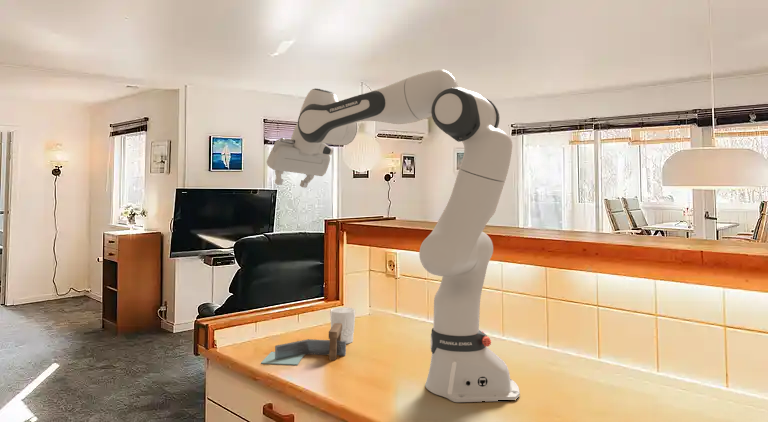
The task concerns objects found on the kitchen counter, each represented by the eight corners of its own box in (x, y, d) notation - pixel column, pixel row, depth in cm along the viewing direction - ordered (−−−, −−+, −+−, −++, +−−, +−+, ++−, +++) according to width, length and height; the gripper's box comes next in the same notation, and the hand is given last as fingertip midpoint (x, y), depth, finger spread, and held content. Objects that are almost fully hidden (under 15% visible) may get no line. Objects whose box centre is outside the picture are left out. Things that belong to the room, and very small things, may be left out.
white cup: (356, 338, 170) (357, 307, 170) (352, 345, 162) (353, 313, 162) (332, 337, 171) (333, 306, 171) (327, 344, 163) (328, 312, 163)
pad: (305, 354, 153) (305, 353, 153) (297, 365, 143) (297, 364, 143) (271, 352, 153) (271, 351, 153) (260, 363, 143) (261, 362, 143)
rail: (345, 354, 153) (346, 340, 153) (341, 363, 145) (341, 349, 145) (282, 351, 155) (282, 338, 154) (274, 360, 146) (274, 346, 146)
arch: (341, 349, 158) (342, 323, 157) (336, 360, 148) (337, 331, 147) (333, 349, 158) (334, 323, 157) (328, 359, 148) (328, 331, 148)
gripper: (283, 141, 143) (267, 186, 147) (337, 151, 159) (322, 192, 162) (271, 132, 147) (256, 177, 151) (325, 143, 163) (310, 184, 166)
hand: (290, 185), depth 157 cm, fingers open, 8 cm apart
